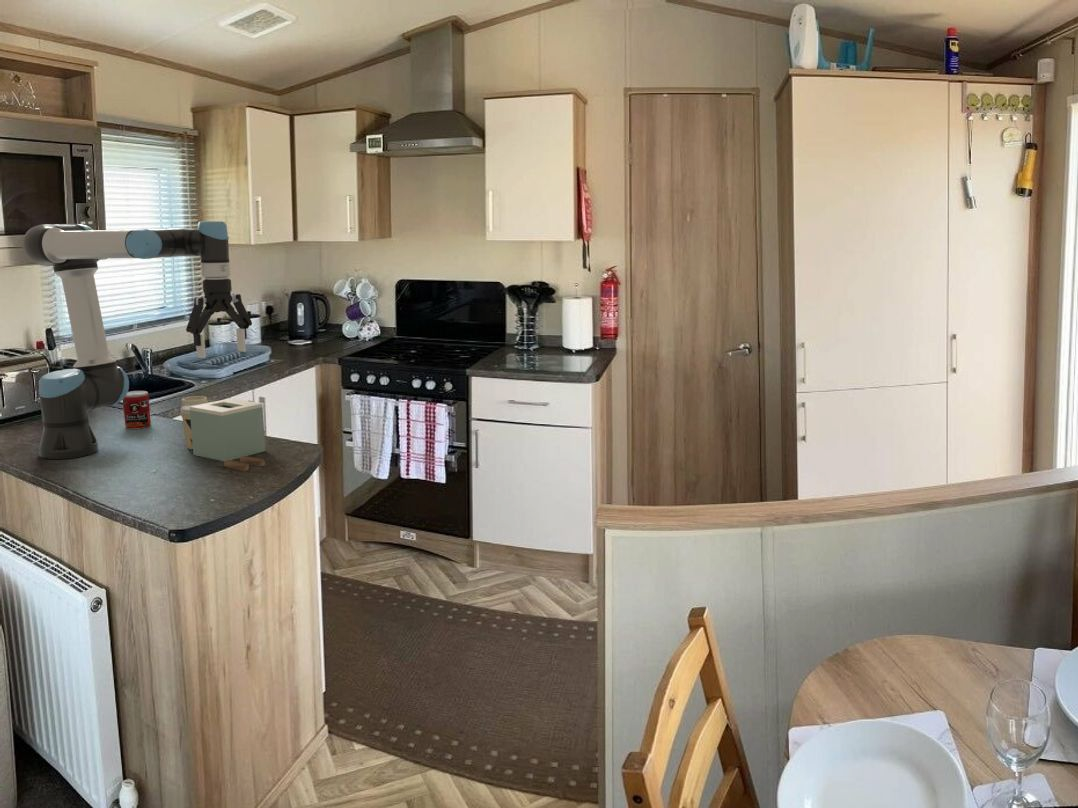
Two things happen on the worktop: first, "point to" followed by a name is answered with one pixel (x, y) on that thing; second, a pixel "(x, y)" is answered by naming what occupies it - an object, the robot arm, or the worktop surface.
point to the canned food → (136, 409)
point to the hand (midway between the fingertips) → (222, 354)
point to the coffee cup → (187, 425)
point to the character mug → (193, 401)
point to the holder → (244, 463)
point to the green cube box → (227, 429)
